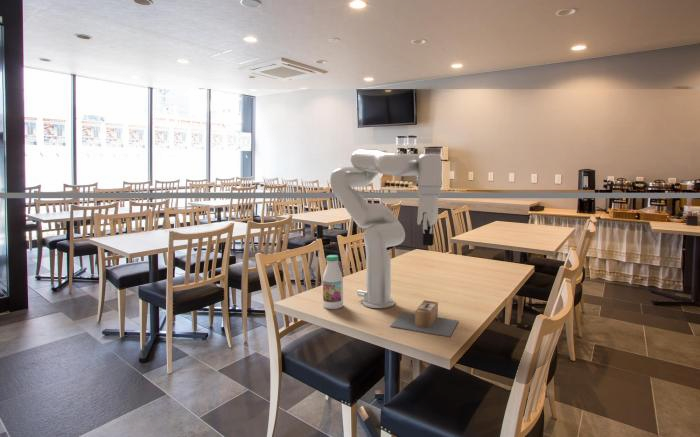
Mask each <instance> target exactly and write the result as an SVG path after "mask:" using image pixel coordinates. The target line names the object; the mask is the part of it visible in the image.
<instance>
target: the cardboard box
mask: <svg viewBox="0 0 700 437" xmlns="http://www.w3.org/2000/svg"><path fill="white" fill-rule="evenodd" d="M438 312H439V302H438V301H433V300H426V299H425V300H423V301H422V303H420V305H419V306H418V307H417V308H416V310H415V311H414V314H415V326H421V327H427V328H430V326H431V325H432V323H433V322H434V320H435V319H436V317H439V316H438V315H439V313H438Z"/></svg>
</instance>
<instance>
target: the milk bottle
mask: <svg viewBox="0 0 700 437" xmlns="http://www.w3.org/2000/svg"><path fill="white" fill-rule="evenodd" d="M326 262H327V263H326V266H325V270H324V272H323V275H322V300H323V302H322V303H323V307H324V308H325V309H329V310H337V309H341V308H343V305H344V281H343V273H342V271H341V269H340V266H339V255H338V254H329V255H326Z"/></svg>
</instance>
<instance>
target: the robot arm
mask: <svg viewBox="0 0 700 437" xmlns="http://www.w3.org/2000/svg"><path fill="white" fill-rule="evenodd" d="M350 163H351V165H352V166H343V167H338V168H336V169H334V170H333V171H332V173H331V174H330V180H329V181H330V188H331V191H332V193H333V194H334V196H335V198H336V199H337V200H338V201H339V202H340V203H341V205H342V206H343V207H344V208H345V210H346V212H347V213H348V215H349V216H350V217H351V218H352V220H353V222H355V225H357V226H358V227H359V228H361V229H365V230H364V233H363V242H364V248H365V257H366V258H365V259H366V261H365V262H366V264H365V265H366V268H365V269H366V272H365V274H366V276H365V277H366V278H365V279H366V285H365V286H366V287H365V288H366V290H362V289H358V290H357V296H358V297H361V298H363V299H362V305H364V307H367V308H371V309H388V308H391V307H392V306H394V305H395V299H394V298H393V297H392V296H391V292H392V291H391V290H392V289H391V279H392V278H391V275H392V274H391V272H392V269H391V267H392V264H391V260H392V259H391V256H390V253H389V252H388V249H387V248H390V247H395V246H399V245H401V244H402V243H403V242H404V241H405V239H406V232H405V229H404V227H403V225H402V224H401V222H400V221H399V220H398V218H397V217H396V216H395V214H394V213H393V212H392V211H391V209H390V208H389V207H388V206H387V205H385V204H383V203H370V202H367V201H366V199H365V198H364V196H363V195H362V194H361V193H360V192H359V191H357V190H355V189H354V188H362V187H365V186H367V185H369V184H370V183H371V182H372V181H373V180H374V179H375V178H376V176H377V175H378V174H381V175H387V176H393V177H394V176H395V177H407V176H408V177H412V176H414V177H415V176H417V196H418V197H419V198H418V203H417V204H418V205H417V219H416V220H417V221H416V223H417V224H416V225H418V226H421V225H422V232H423V233H422V234H423V235H422V245H423V246H429V247H431V246H433V245H434V242H435V240H434V232H435V231H434V230H435V224H437V223H438V220H439V218H438V217H439V197H440V196H441V194H442V188H441V187H442V186H441V185H442V157H441V155H440V154H439V153H438V154H437V153H421V154H420V153H396V152H395V153H394V152H393V153H390V152H388V151H387V150H383V149H375V148H372V149H371V148H359V149H357V150H355V151H354V152H353V153H352V154H351V156H350Z"/></svg>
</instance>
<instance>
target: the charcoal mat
mask: <svg viewBox="0 0 700 437" xmlns="http://www.w3.org/2000/svg"><path fill="white" fill-rule="evenodd" d="M458 323H459V320H457V319H451V318H446V317H445V318H444V317H439V316H437V317H436V319H435V320H434V322H433V323H432V325H431V326H430V328H427V327H421V326H415V313H413V312H412V313H411V312H405V311H403V312H401V314H399V316H397V318H396V319H395V320H394V321H393V322H392V323H391V324H390V326H389V327H390V328H396V329H400V330H405V331H412V332H419V333H424V334H428V335H437V336H439V337H440V336H441V337H447V338H451V336H452V334H453V332H454V331H455V328H456V327H457V324H458Z"/></svg>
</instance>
